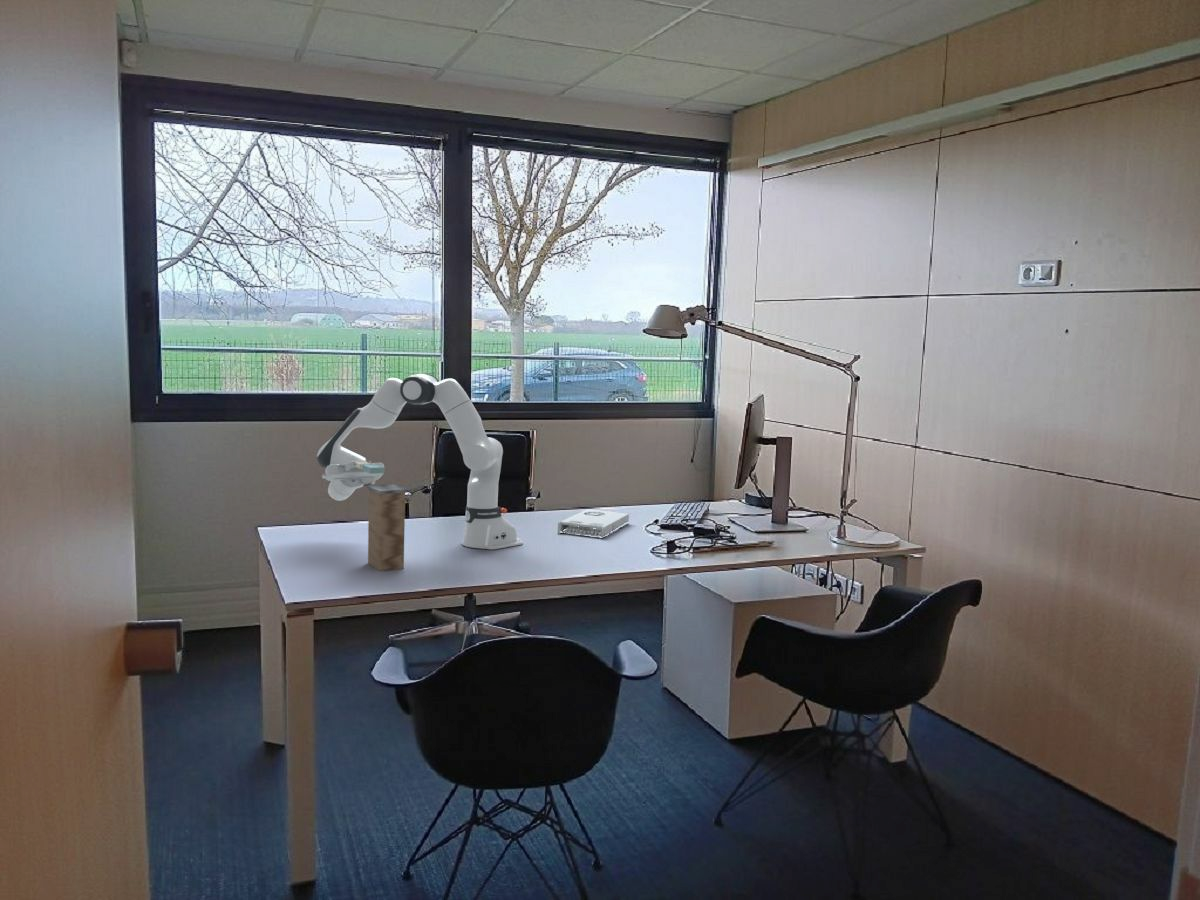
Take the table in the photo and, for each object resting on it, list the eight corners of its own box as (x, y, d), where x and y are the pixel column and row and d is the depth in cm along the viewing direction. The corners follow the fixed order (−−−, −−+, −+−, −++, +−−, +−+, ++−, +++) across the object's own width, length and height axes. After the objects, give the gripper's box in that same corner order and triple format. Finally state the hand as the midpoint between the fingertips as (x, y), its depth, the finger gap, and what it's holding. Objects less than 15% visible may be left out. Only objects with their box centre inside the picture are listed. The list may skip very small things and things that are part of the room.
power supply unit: (557, 535, 348) (557, 522, 348) (587, 520, 379) (587, 509, 378) (602, 540, 342) (602, 528, 341) (628, 525, 373) (629, 513, 372)
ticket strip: (364, 464, 310) (364, 458, 310) (384, 473, 294) (384, 467, 293) (350, 465, 307) (350, 459, 307) (370, 473, 291) (370, 467, 291)
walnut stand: (392, 560, 296) (393, 484, 293) (405, 568, 287) (406, 489, 284) (366, 563, 291) (367, 485, 288) (378, 571, 282) (379, 491, 279)
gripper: (319, 470, 311) (330, 455, 300) (375, 468, 322) (387, 453, 312) (321, 487, 309) (332, 472, 298) (378, 484, 320) (390, 470, 310)
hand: (361, 463), depth 305 cm, fingers closed on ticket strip, 4 cm apart
